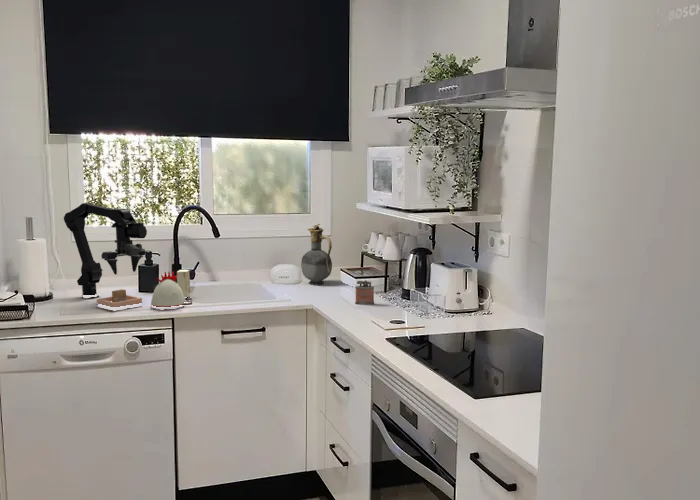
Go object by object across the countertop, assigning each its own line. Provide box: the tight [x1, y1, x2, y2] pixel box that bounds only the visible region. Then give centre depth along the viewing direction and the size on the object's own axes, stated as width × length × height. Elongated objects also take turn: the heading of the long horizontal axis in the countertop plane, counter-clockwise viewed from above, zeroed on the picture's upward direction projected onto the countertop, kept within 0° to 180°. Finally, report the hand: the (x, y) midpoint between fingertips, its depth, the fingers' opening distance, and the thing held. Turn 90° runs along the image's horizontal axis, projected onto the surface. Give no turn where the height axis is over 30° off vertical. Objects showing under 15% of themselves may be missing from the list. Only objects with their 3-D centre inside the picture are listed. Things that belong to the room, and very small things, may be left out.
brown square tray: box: [96, 294, 143, 307], centre depth 280 cm, size 13×13×4 cm
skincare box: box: [176, 269, 191, 298], centre depth 299 cm, size 6×4×12 cm
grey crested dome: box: [150, 271, 186, 307], centre depth 280 cm, size 14×14×15 cm
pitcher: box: [300, 223, 333, 286], centre depth 328 cm, size 11×19×30 cm, turn 42°
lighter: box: [354, 279, 375, 306], centre depth 283 cm, size 8×3×10 cm, turn 84°
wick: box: [111, 288, 127, 302], centre depth 280 cm, size 2×5×6 cm, turn 142°
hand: (125, 273), depth 293 cm, fingers open, 9 cm apart
